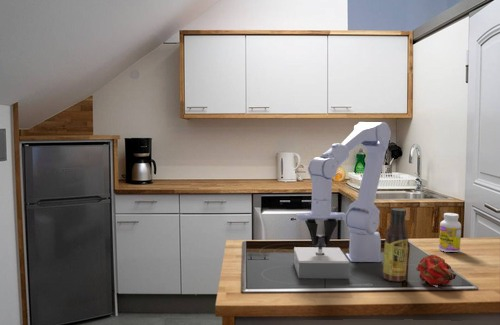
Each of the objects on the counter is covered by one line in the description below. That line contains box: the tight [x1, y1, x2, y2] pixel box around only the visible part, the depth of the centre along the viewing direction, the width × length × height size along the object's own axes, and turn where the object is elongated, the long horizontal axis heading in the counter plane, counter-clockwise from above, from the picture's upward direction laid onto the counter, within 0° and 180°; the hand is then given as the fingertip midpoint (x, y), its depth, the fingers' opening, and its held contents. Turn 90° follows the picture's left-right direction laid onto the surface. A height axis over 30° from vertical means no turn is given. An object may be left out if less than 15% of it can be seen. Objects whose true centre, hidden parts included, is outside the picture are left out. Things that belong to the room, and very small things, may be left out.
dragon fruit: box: [415, 254, 457, 287], centre depth 128 cm, size 8×8×12 cm
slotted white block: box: [293, 246, 350, 280], centre depth 138 cm, size 14×14×5 cm
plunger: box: [315, 233, 327, 255], centre depth 138 cm, size 11×11×8 cm
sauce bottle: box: [382, 207, 409, 283], centre depth 131 cm, size 6×6×20 cm
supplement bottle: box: [438, 212, 462, 253], centre depth 160 cm, size 7×7×13 cm
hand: (320, 244), depth 138 cm, fingers closed on plunger, 3 cm apart
